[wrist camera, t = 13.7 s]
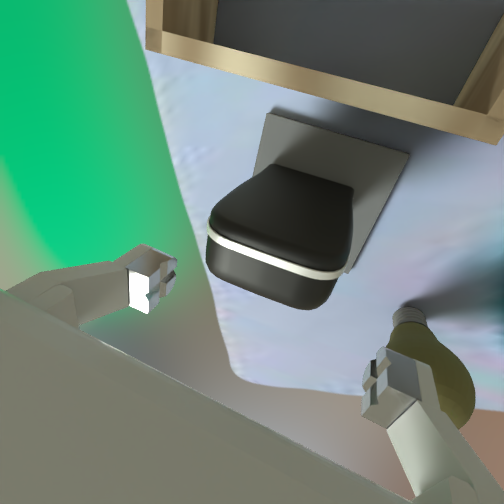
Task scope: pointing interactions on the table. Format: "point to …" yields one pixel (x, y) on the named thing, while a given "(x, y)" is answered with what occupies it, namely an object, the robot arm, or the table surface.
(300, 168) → the pad
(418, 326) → the light bulb
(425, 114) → the box
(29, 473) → the robot arm
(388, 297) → the table surface
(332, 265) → the battery charger
